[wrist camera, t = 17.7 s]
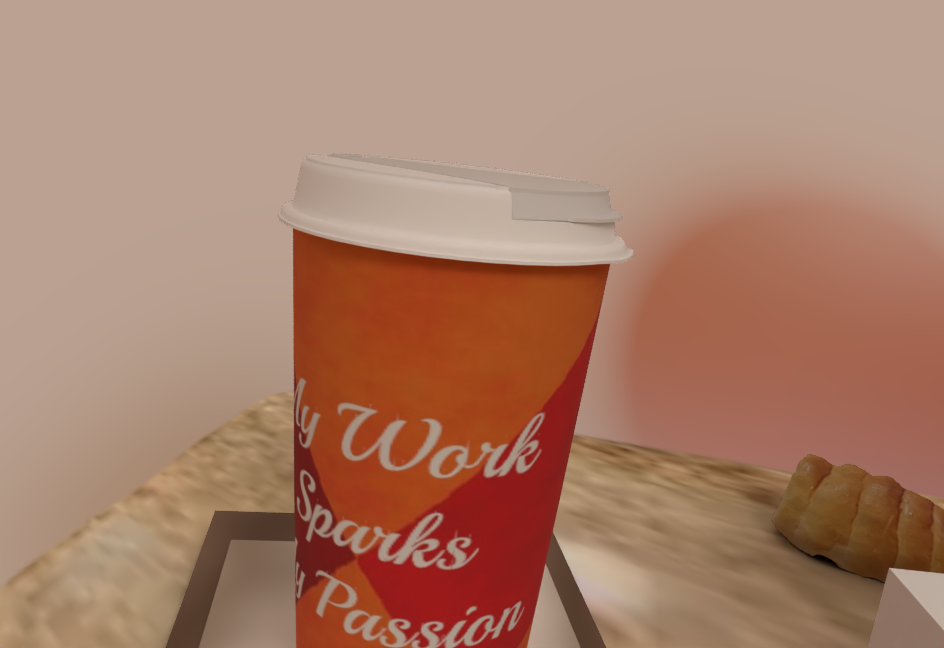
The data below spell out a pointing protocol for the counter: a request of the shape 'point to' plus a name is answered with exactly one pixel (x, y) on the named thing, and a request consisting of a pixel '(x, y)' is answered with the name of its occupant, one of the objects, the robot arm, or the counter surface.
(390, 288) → the coffee cup
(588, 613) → the brown framed picture
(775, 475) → the counter surface
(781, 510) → the pastry
